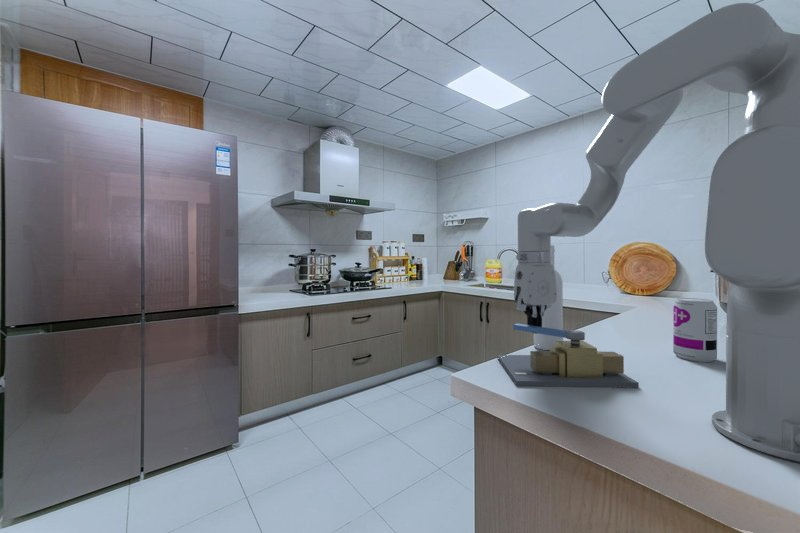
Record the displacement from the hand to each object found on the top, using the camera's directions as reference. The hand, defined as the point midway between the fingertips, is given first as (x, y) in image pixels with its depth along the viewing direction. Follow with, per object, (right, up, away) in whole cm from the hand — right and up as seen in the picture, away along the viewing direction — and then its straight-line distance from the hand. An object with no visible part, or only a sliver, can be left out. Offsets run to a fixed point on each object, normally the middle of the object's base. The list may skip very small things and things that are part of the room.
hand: (534, 332), depth 80 cm
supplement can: (+42, -7, +2) cm, 43 cm away
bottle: (+10, -8, +14) cm, 19 cm away
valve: (+5, -8, -10) cm, 13 cm away
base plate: (+3, -8, -5) cm, 10 cm away
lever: (+1, +1, -5) cm, 5 cm away
